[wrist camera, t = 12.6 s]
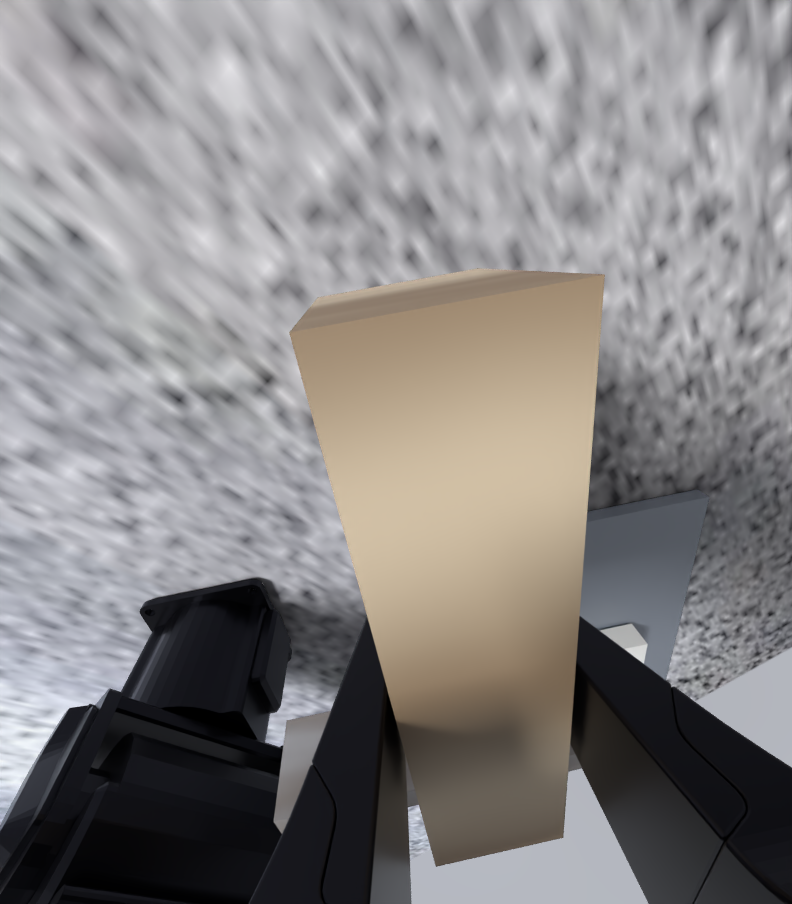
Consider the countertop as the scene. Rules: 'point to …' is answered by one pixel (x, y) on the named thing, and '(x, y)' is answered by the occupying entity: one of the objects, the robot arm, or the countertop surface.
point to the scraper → (463, 532)
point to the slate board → (642, 568)
